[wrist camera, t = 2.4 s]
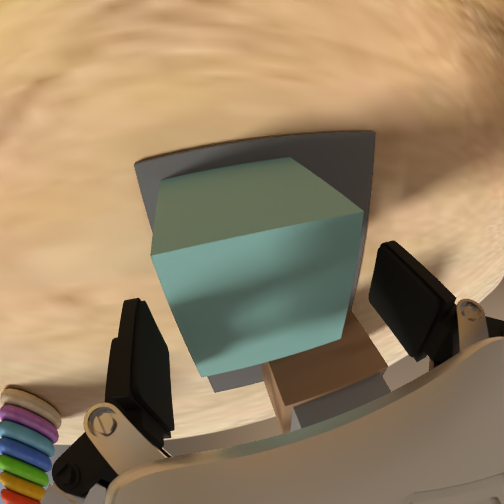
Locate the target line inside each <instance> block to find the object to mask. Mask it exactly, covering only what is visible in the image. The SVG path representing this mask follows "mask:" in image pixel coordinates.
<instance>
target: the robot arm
mask: <svg viewBox="0 0 504 504" xmlns="http://www.w3.org/2000/svg"><path fill="white" fill-rule="evenodd" d="M455 300H456V297H455V296H454V295H453V294H452V293H451V292H450V291H449V290H448V289H447V288H446V287H445V286H444V285H443V284H442V283H441V282H440V281H439V280H438V279H437V278H436V277H435V276H434V275H432V274H431V273H430V272H429V271H428V270H427V269H426V268H425V267H424V266H423V265H422V264H421V263H420V262H419V261H417V260H416V259H415V258H414V257H413V256H412V255H411V254H410V253H409V252H407V251H406V250H405V249H404V248H403V247H402V246H401V245H399V244H398V243H397V242H396V241H389V242H385V243H382V244H381V246H380V248H379V249H378V252H377V257H376V263H375V268H374V273H373V278H372V282H371V287H370V292H369V301H370V303H371V304H372V306H373V307H374V308H375V310H376V311H377V312H378V314H379V315H380V316H381V317H382V319H383V320H384V321H385V323H386V324H387V325H388V327H389V328H390V329H391V331H392V332H393V333H394V335H395V336H396V338H397V339H398V340H399V342H400V343H401V344H402V346H403V347H404V349H405V350H406V351H407V353H408V354H409V355H410V356H411V357H414V359H415V360H416V361H417V362H418V361H420V360H421V359H423V358H425V357H426V356H427V355H428V356H429V357H430V362H429V372H427V373H425V374H424V375H422V376H420V377H418V378H417V379H415V380H413V381H411V382H409V383H407V384H406V385H404V386H402V387H400V388H398V389H396V390H394V391H392V392H390V393H388V394H386V395H384V396H382V397H380V398H378V399H376V400H373V401H371V402H369V403H367V404H365V405H362V406H360V407H358V408H355V409H353V410H351V411H348V412H346V413H343V414H341V415H338V416H336V417H333V418H330V419H328V420H325V421H322V422H319V423H316V424H313V425H311V426H308V427H304V428H301V429H298V430H295V431H292V432H288V433H285V434H281V435H278V436H274V437H271V438H267V439H263V440H259V441H254V442H250V443H246V444H241V445H236V446H232V447H227V448H222V449H217V450H211V451H204V452H198V453H192V454H186V455H180V456H174V457H172V456H171V455H170V454H169V453H168V452H167V451H166V450H165V449H163V448H162V447H163V446H164V440H163V439H165V438H171V432H170V431H173V430H174V418H173V407H172V395H171V380H170V362H169V351H168V347H167V345H166V343H165V341H164V339H163V337H162V335H161V333H160V331H159V329H158V327H157V325H156V323H155V321H154V318H153V316H152V314H151V312H150V310H149V308H148V305H147V303H146V302H145V301H141V300H140V299H139V298H135V299H130V300H125V301H124V303H123V308H122V314H121V320H120V326H119V333H118V338H114V339H113V340H112V343H111V349H110V356H109V364H108V372H107V381H106V392H105V403H98V404H96V405H94V406H92V407H91V408H90V409H89V410H88V411H87V413H86V415H85V417H84V423H83V424H84V430H85V433H84V434H83V435H82V436H81V437H79V438H78V439H77V440H76V441H75V442H74V443H73V444H72V445H71V447H69V448H68V449H67V450H66V451H65V452H64V453H63V454H62V455H61V456H60V457H59V458H58V459H57V460H56V462H55V463H54V465H53V468H52V477H53V480H54V483H53V485H51V484H49V486H48V488H47V490H46V492H45V494H44V497H43V499H42V501H41V503H40V504H504V321H502V320H498V319H494V318H490V317H486V316H485V313H484V310H483V309H482V307H481V306H480V305H479V304H478V303H477V302H475V301H473V300H470V299H462V300H460V301H459V302H458V304H457V305H456V304H455V303H454V302H455Z"/></svg>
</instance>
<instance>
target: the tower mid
mask: <svg viewBox="0 0 504 504" xmlns="http://www.w3.org/2000/svg"><path fill="white" fill-rule="evenodd" d="M390 392H391V390H390V389H389V387H388V385H387V384H386V382H385V380H384V379H383V377H382V376H381V374H380V373H378V374H376V375H374V376H372V377H370V378H368V379H365V380H363V381H361V382H359V383H356V384H354V385H351V386H349V387H347V388H344V389H342V390H339V391H337V392H334V393H331V394H329V395H326V396H323V397H321V398H318V399H315V400H312V401H309V402H306V403H303V404H300V405H297V406H294V407H293V412H292V421H291V430H290V432H292V431H295V430H298V429H301V428H304V427H308V426H311V425H313V424H316V423H319V422H322V421H325V420H328V419H330V418H333V417H336V416H338V415H341V414H343V413H346V412H348V411H351V410H353V409H355V408H358V407H360V406H362V405H365V404H367V403H369V402H371V401H373V400H376V399H378V398H380V397H382V396H384V395H386V394H388V393H390Z"/></svg>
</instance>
